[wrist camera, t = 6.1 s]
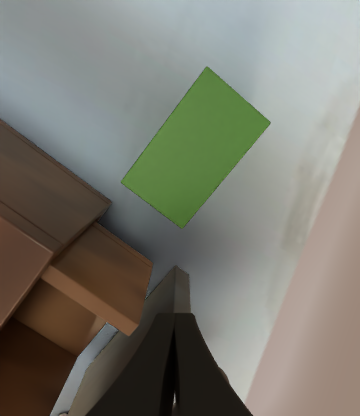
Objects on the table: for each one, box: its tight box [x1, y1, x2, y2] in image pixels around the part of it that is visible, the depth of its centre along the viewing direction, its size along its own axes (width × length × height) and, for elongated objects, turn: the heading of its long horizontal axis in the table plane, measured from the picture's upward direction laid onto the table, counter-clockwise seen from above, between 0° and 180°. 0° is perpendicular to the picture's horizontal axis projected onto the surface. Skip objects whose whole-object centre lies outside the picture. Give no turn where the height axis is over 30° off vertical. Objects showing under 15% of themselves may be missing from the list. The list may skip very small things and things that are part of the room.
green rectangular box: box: [121, 67, 270, 229], centre depth 15 cm, size 6×4×5 cm, turn 142°
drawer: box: [0, 221, 229, 416], centre depth 16 cm, size 18×11×7 cm, turn 52°
